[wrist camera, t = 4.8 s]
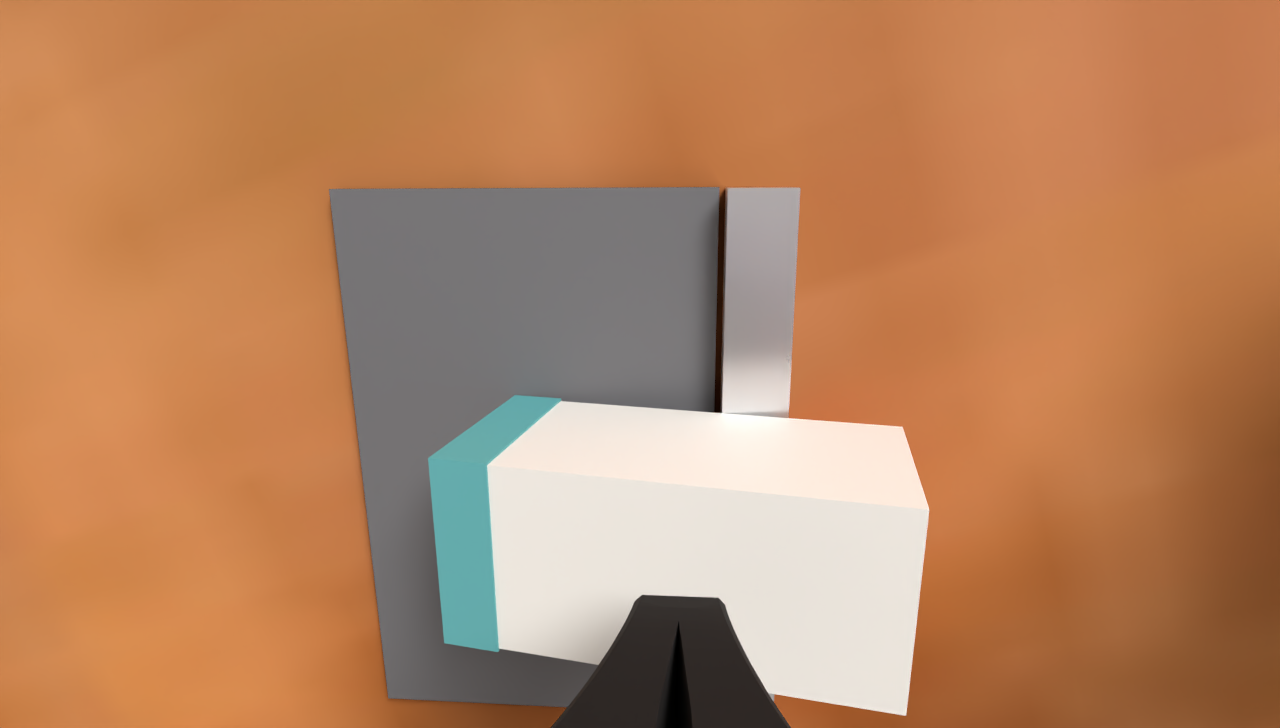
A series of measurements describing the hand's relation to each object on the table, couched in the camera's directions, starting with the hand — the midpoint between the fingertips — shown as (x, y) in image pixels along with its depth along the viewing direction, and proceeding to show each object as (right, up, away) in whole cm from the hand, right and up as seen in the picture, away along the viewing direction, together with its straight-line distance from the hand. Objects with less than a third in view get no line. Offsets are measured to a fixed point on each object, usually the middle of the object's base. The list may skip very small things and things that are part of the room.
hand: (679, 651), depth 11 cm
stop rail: (+2, +2, +7) cm, 7 cm away
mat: (-3, +2, +7) cm, 8 cm away
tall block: (+5, +1, +3) cm, 5 cm away
